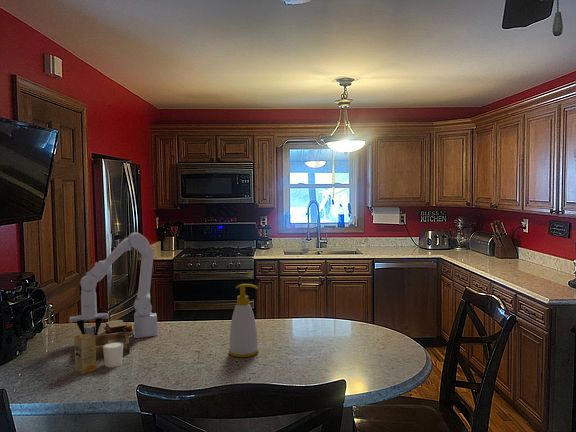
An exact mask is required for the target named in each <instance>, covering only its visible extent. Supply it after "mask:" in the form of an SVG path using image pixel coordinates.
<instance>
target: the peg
mask: <svg viewBox="0 0 576 432" xmlns="http://www.w3.org/2000/svg"><path fill="white" fill-rule="evenodd" d="M95 330H96V327H95V325H94V326H86V327H84V332H85V334H86V333H90V334H92V335H95Z"/></svg>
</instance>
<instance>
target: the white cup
mask: <svg viewBox="0 0 576 432" xmlns="http://www.w3.org/2000/svg"><path fill="white" fill-rule="evenodd" d="M103 353H104V357H103V359H104V365H105V367H106V368H116V367H119V366H121V365H122V364H123V356H124V355H123V343H120V342H113V343H108V344H105V345H104V346H103Z"/></svg>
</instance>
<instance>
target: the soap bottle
mask: <svg viewBox="0 0 576 432" xmlns="http://www.w3.org/2000/svg"><path fill="white" fill-rule="evenodd" d="M246 287H247V288H248V287H250V288H254V289H255V290H258V289H259V287H258V286H257V285H256V284H253V283H240V284H238V285H237V286H235V289H239V295H237V297H236V298H237V299H236V305H235V307H234V309H233V312H232V317H231V323H230V324H231V325H230V330H229V331H230V333H229V350H228V354H229V355H230V356H232V357H236V358H249V357H253V356H255V355H257V354H258V353H259V348H258V334H257V325H256V319H255V315H254V311H253V309H252V305H250V300H249V295H247V294H246Z"/></svg>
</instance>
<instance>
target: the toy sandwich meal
mask: <svg viewBox="0 0 576 432" xmlns="http://www.w3.org/2000/svg"><path fill="white" fill-rule="evenodd" d="M105 325H106V326H104V327H103V330H104V332H103V334H111V333H120V332H127V335H128V336H131V335H132V334H133V332H135V329H134V328H133V326H132V325H131V324H130V323H129V322H128V321H127V322H124V320H123V319H115V320H110V321H107V322H105Z"/></svg>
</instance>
